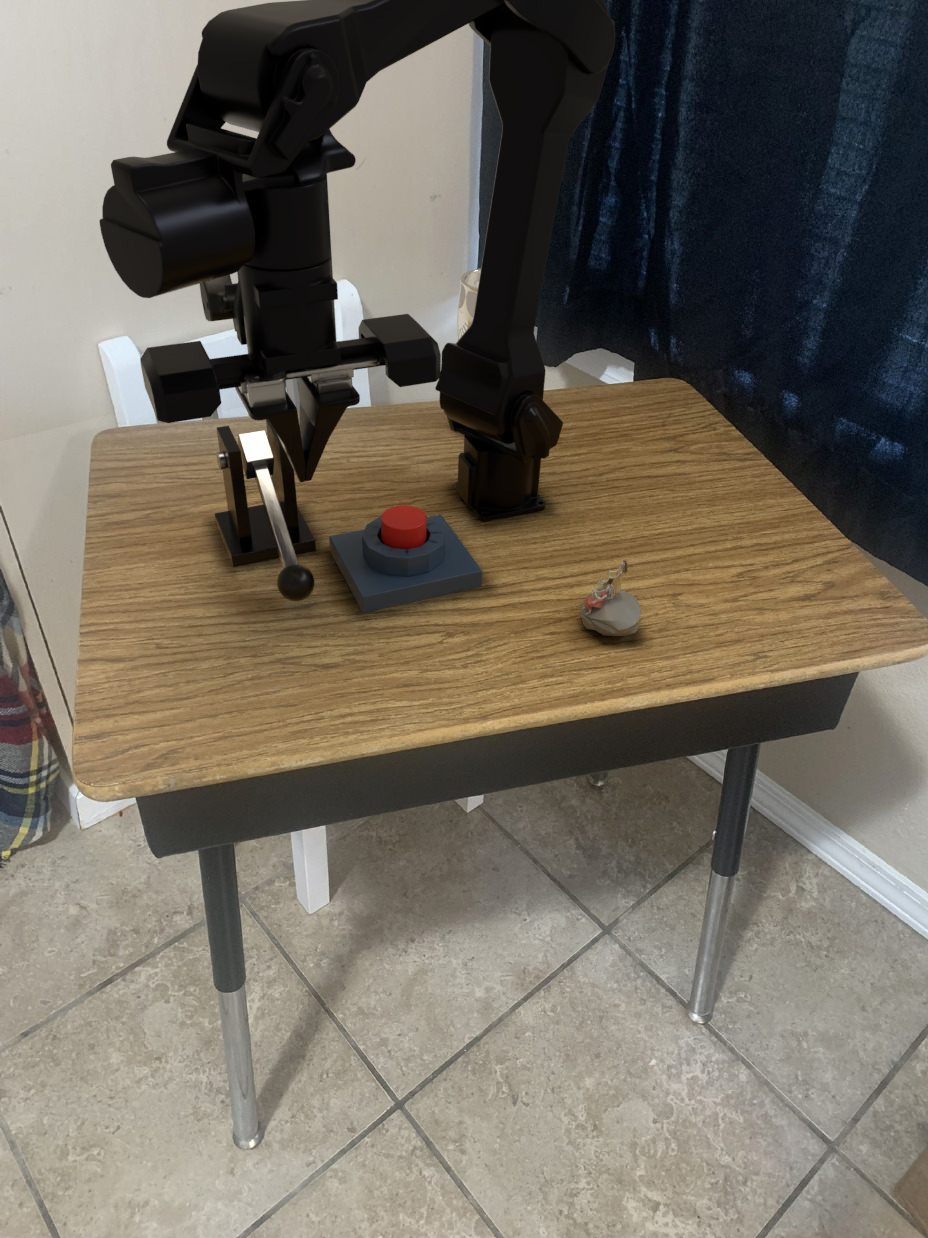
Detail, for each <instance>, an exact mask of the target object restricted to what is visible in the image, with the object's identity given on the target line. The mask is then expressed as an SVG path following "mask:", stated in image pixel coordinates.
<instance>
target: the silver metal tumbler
mask: <svg viewBox="0 0 928 1238" xmlns="http://www.w3.org/2000/svg"><path fill="white" fill-rule="evenodd" d="M480 272H481V267H480V268H473V269H471V270H467V271H466V272H464V273H463V274H462V275H461V276H460V285H459V293H458V302H457V304H458V305H457V315H456V317H457V318H456V336H457V341H458V340H459V339H460V338H461V337H462V335H463V334H464V333H465V332H466V330H467V329H468V328H469V327H470V325H471V324H472V321H473V317H474V311H475V305H476V298H477V292H478V285H479V279H480Z"/></svg>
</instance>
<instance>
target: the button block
mask: <svg viewBox="0 0 928 1238" xmlns="http://www.w3.org/2000/svg"><path fill="white" fill-rule="evenodd" d="M426 517H427V527H426V541H425V543H424V544H423V545H421V546H420V547H416V548H411V549H396V548H391V547H389V546H387V545H385V544H384V543H383V541H382V539H381V515H380V516H378V517H376V518H374V519H373V520H372V521H370V522H368V523H367V524H366V525H365V528H364V529H359V530H353V531H349V532H343V533H338V534H333V535H329V536H328V543H329V553H330V555H331V557H332V558H333V561H334V562H335V564H336V566H337V568H338V570H339V571H340V573H341V575H342V577H343V579H344V580H345V583H346V584H347V586H348V588H349V590H350V592H351V593H352V595H353V597H354V599H355V601H356V603H357V605H358V607H359V609H360V611H361V612H362V613H363V614H367V613H370V612H375V611H380V610H384V609H388V608H389V609H390V608H393V607H398V606H402V605H406V604H410V603H415V602H420V601H425V600H428V599H432V598H433V599H434V598H437V597H443V596H446V595H451V594H456V593H459V592H464V591H469V590H473V589H474V590H475V589H478V588H481V587H482V584H483V582H482V581H483V570H482V569H481V567H480V566H479V564H478V562H477V561H476V560H475V558H473V556H472V555H471V553H470V552H469V551H468V549H467V548H466V547H465V545H464V543H463V542H462V541H461V539H459V537H458V536H457V534H456V533H455V532H454V530H453V529H452V527H451V526H450V525H449V523H448V522H447V521H446V519H445V518H444V516H443V515H442V514H435V515H431V516H426Z"/></svg>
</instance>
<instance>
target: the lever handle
mask: <svg viewBox="0 0 928 1238" xmlns="http://www.w3.org/2000/svg"><path fill="white" fill-rule="evenodd" d="M237 444H238V446H239V448H240V450H241V456H242V464H243V472H244V477H245V478H246V480H252V479H255V482H256V483H255V484H256V486H257V488H258V489H257V490H258V492H259V495H260V499H261V503H262V505H264V509H265V512H266V515H267V518H268V522H269V525H270V528H271V531H272V535H273V538H274V541H275V544H276V548H277V551H278V554H279V557H280V558H279V560H280V563H281V566H282V569H281V571H280V572H279V574H278V576H277V580H276V585H277V589H278V591H279V593H280V594H281V596H282V597H283V598H284V599H287V600H288V601H290V602H291V601H292V602H301V601H304V600H306V599H307V598H308V597H310V596H311V594H312V593H313V591H314V589H315V584H316V581H315V576H314V575H313V572H312V571H311V570H310V569H309V568H308V567H307V566H305V565H302V564H299V561H298V557H297V555H296V554H295V551H294V548H293V545H292V541H291V538H290V535H289V532H288V529H287V526H286V522H285V519H284V516H283V513H282V510H281V507H280V503H279V500H278V497H277V494H276V491H275V488H274V484H273V481H272V475H273V470H274V456H273V453H272V449H271V446H270V443H269V440H268V435H267V430H266V429H262V430H256V431H249V432H244V433H238V435H237Z"/></svg>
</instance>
